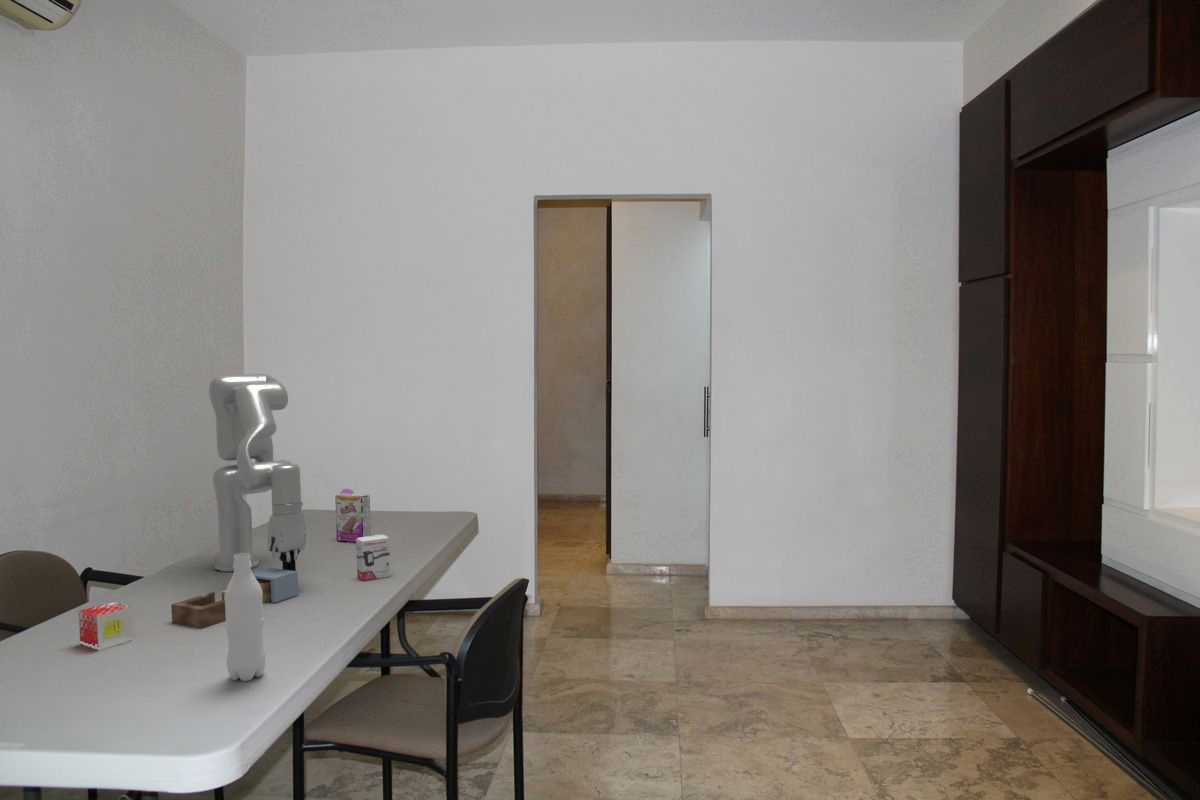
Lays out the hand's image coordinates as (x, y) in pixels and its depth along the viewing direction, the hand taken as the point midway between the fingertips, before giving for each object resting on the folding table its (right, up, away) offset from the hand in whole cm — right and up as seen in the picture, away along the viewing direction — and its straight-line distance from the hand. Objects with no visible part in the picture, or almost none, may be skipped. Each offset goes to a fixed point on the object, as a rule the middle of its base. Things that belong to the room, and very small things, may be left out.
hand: (289, 574), depth 234 cm
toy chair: (-7, 0, +84) cm, 84 cm away
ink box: (+20, -4, +14) cm, 24 cm away
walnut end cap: (-12, -6, -23) cm, 26 cm away
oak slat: (-6, -5, -10) cm, 13 cm away
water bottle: (+14, -8, -62) cm, 64 cm away
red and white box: (-27, -8, -39) cm, 48 cm away
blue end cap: (-3, -5, -5) cm, 7 cm away
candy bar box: (0, -1, +62) cm, 62 cm away
